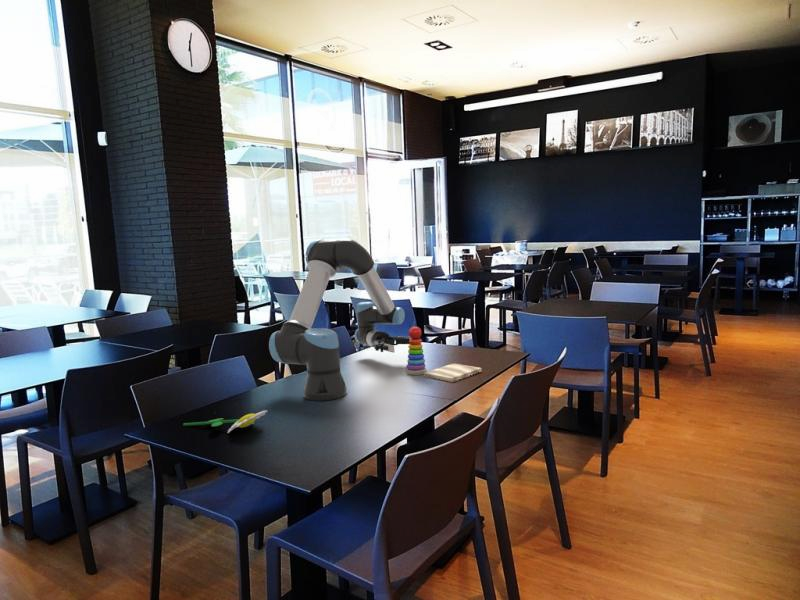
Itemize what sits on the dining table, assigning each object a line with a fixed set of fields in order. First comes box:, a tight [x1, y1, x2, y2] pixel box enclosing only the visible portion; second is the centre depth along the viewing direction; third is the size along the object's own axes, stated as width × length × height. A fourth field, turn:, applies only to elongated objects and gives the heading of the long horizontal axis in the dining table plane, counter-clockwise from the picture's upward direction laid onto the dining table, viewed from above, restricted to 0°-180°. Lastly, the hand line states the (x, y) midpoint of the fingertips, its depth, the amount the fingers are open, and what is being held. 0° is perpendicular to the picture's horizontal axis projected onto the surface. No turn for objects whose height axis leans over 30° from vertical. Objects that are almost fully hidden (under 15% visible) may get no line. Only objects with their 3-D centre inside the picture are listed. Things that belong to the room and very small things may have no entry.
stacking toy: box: [406, 326, 427, 376], centre depth 219 cm, size 8×8×19 cm
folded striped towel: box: [423, 363, 482, 383], centre depth 216 cm, size 18×14×2 cm
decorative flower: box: [182, 409, 268, 434], centre depth 167 cm, size 13×5×30 cm
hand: (407, 346), depth 224 cm, fingers open, 13 cm apart
